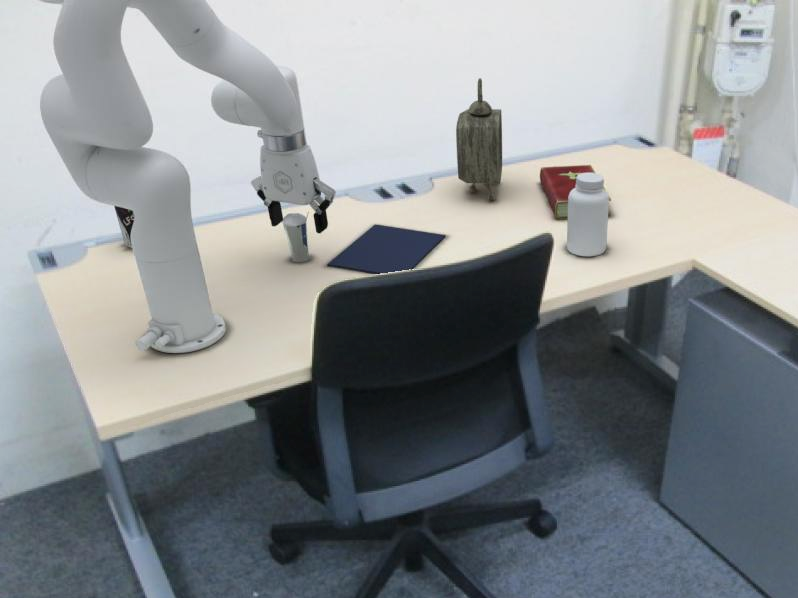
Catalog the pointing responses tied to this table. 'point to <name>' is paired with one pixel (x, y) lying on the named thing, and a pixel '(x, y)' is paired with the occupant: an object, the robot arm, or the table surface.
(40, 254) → the table surface
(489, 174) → the tabletop clock
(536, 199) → the table surface
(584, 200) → the pill bottle
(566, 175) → the hardcover book
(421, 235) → the mouse pad
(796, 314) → the table surface
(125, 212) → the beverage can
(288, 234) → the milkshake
